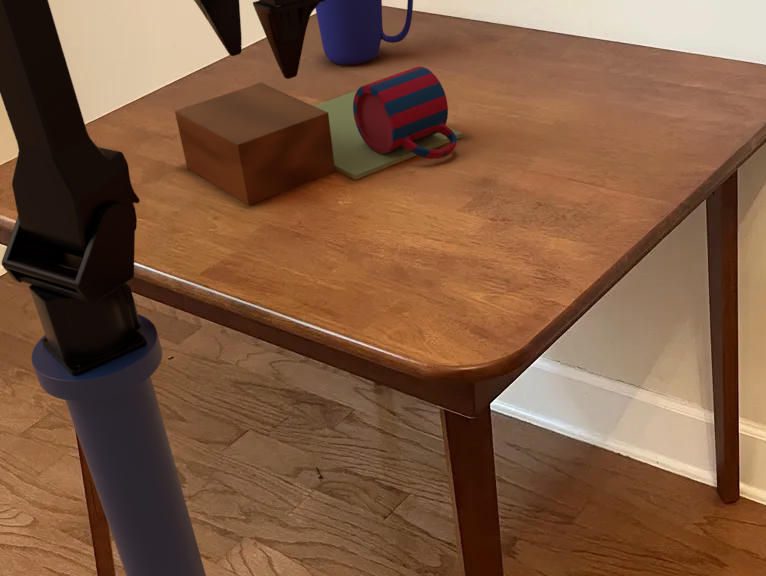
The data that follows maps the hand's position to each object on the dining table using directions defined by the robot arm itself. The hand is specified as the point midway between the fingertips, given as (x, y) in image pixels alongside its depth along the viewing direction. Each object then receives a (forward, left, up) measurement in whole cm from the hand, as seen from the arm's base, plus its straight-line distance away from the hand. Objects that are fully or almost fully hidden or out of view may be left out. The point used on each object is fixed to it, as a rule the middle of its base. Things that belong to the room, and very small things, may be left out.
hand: (262, 65), depth 91 cm
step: (+1, +5, -12) cm, 13 cm away
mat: (+13, +5, -12) cm, 18 cm away
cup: (+10, -3, -9) cm, 14 cm away
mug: (+28, +23, -12) cm, 38 cm away
